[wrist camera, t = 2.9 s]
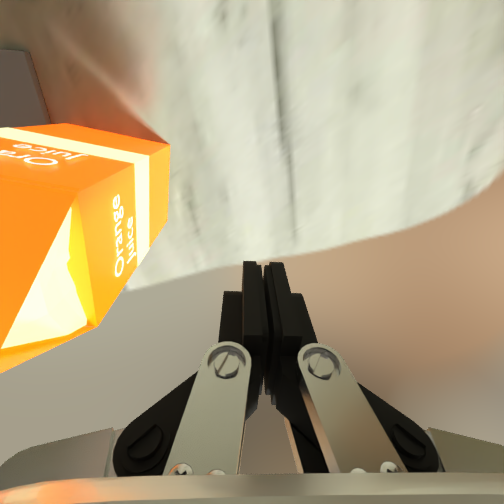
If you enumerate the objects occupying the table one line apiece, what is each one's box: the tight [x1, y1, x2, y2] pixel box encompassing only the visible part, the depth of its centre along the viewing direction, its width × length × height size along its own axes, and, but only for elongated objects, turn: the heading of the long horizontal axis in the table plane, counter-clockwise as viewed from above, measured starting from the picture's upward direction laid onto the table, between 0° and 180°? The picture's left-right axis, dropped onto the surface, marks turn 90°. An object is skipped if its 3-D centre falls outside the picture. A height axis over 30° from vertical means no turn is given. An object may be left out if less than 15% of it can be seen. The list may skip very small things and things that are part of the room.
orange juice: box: [0, 123, 170, 373], centre depth 15 cm, size 8×9×20 cm
